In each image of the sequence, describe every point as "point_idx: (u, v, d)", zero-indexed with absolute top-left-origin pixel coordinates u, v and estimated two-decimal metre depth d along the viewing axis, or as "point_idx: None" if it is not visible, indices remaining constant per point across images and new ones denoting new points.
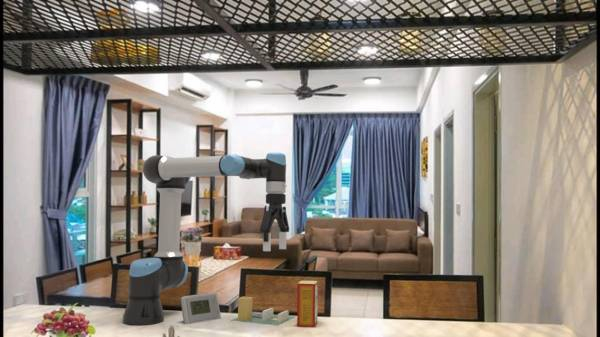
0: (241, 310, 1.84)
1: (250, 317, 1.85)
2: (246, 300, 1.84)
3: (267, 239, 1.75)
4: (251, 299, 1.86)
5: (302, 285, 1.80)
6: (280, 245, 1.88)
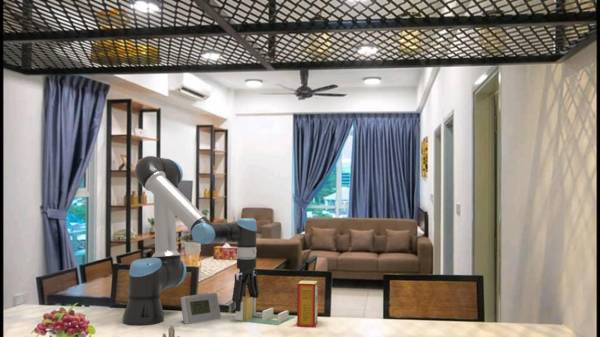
0: None
1: (250, 317, 1.85)
2: (246, 300, 1.84)
3: (239, 309, 1.80)
4: (251, 299, 1.86)
5: (302, 285, 1.80)
6: None
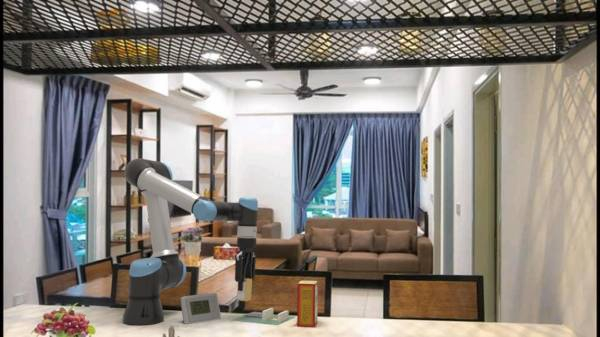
0: None
1: (249, 298, 1.86)
2: (245, 281, 1.85)
3: (241, 288, 1.83)
4: (250, 280, 1.87)
5: (302, 285, 1.80)
6: None
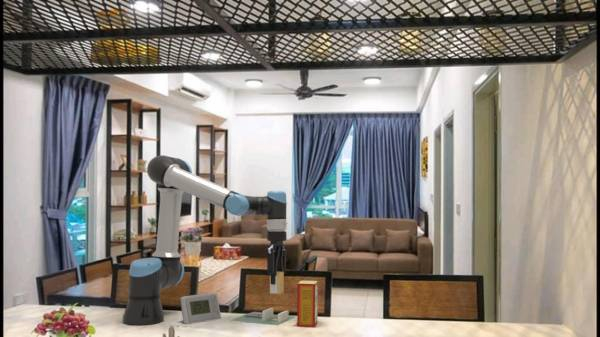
0: None
1: (282, 291, 1.85)
2: (278, 274, 1.84)
3: (274, 282, 1.83)
4: (282, 273, 1.87)
5: (302, 285, 1.80)
6: None
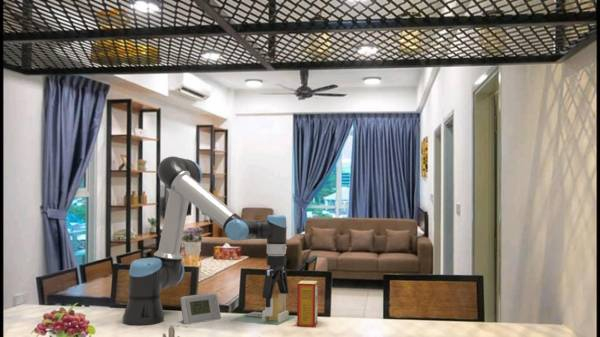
0: None
1: None
2: (277, 300, 1.83)
3: (269, 304, 1.79)
4: (281, 299, 1.86)
5: (302, 285, 1.80)
6: None
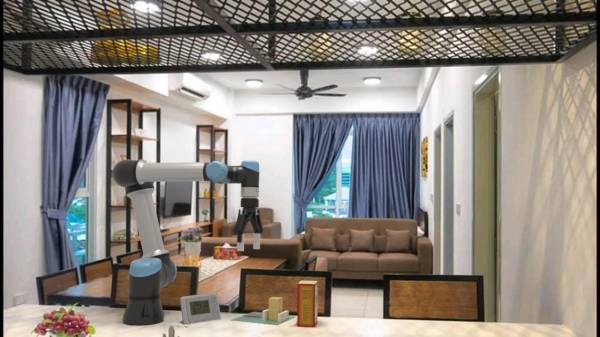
0: (271, 310, 1.84)
1: None
2: (277, 300, 1.83)
3: (240, 240, 1.91)
4: (281, 299, 1.86)
5: (302, 285, 1.80)
6: (254, 245, 2.04)
